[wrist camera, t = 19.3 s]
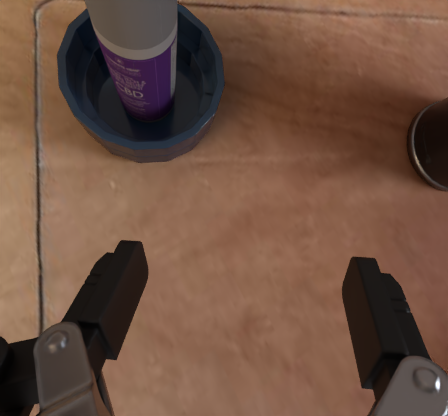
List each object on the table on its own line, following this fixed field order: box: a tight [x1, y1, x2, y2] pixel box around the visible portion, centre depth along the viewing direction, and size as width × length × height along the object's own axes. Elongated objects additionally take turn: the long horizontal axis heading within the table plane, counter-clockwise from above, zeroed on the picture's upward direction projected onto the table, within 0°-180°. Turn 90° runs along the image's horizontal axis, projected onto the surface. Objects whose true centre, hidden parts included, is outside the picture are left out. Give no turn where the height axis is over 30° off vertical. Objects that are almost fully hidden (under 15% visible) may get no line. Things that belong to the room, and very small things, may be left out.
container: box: [85, 0, 177, 123], centre depth 20 cm, size 5×5×15 cm
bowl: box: [57, 4, 225, 163], centre depth 26 cm, size 12×12×5 cm
